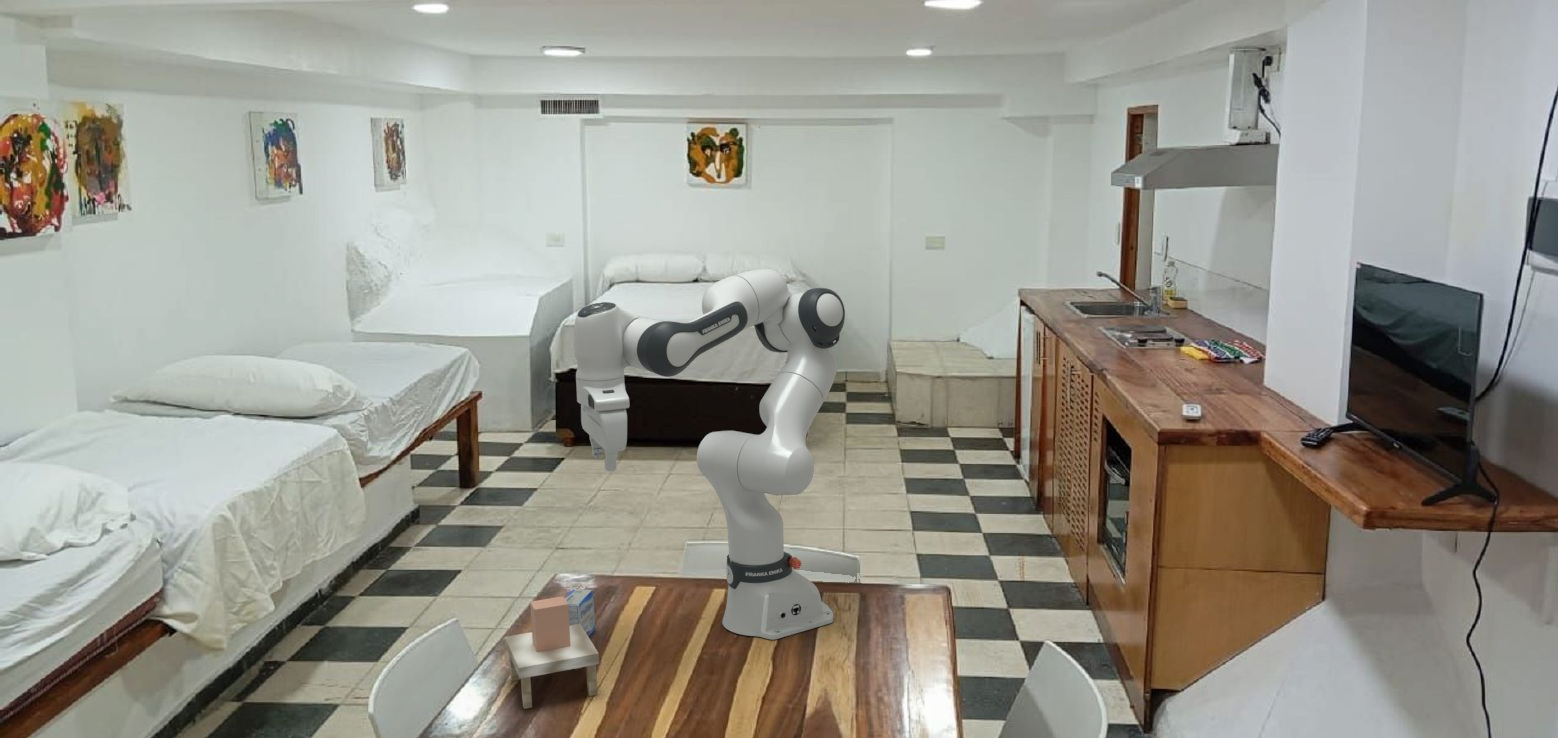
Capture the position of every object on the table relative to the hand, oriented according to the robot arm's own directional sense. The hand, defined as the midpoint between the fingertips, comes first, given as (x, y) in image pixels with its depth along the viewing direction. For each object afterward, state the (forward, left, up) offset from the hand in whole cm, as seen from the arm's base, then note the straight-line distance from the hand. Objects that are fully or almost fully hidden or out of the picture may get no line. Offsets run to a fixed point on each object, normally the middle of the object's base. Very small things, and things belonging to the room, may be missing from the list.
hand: (604, 463), depth 227 cm
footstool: (+14, +11, -37) cm, 41 cm away
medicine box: (+5, -8, -37) cm, 39 cm away
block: (+14, +11, -29) cm, 34 cm away
